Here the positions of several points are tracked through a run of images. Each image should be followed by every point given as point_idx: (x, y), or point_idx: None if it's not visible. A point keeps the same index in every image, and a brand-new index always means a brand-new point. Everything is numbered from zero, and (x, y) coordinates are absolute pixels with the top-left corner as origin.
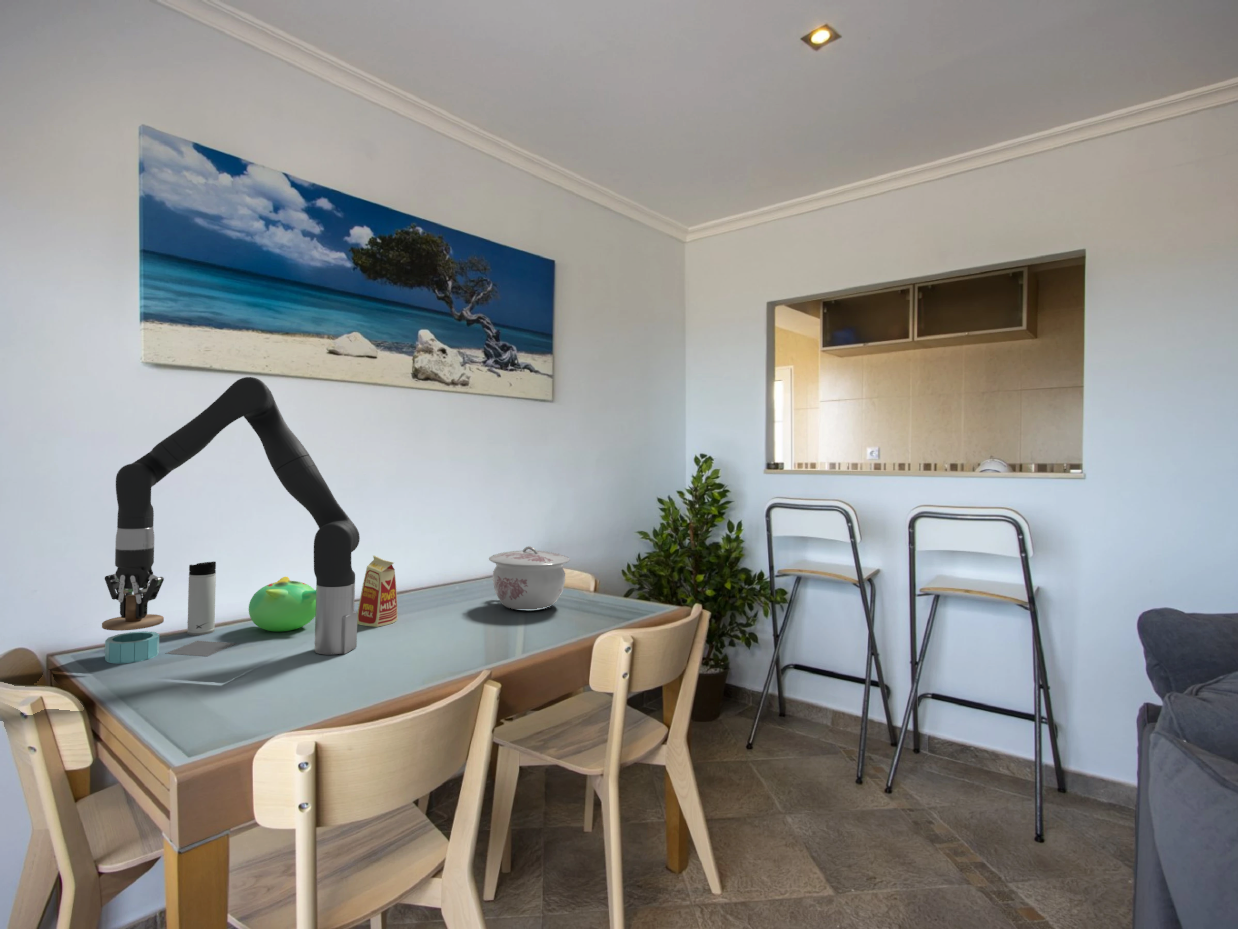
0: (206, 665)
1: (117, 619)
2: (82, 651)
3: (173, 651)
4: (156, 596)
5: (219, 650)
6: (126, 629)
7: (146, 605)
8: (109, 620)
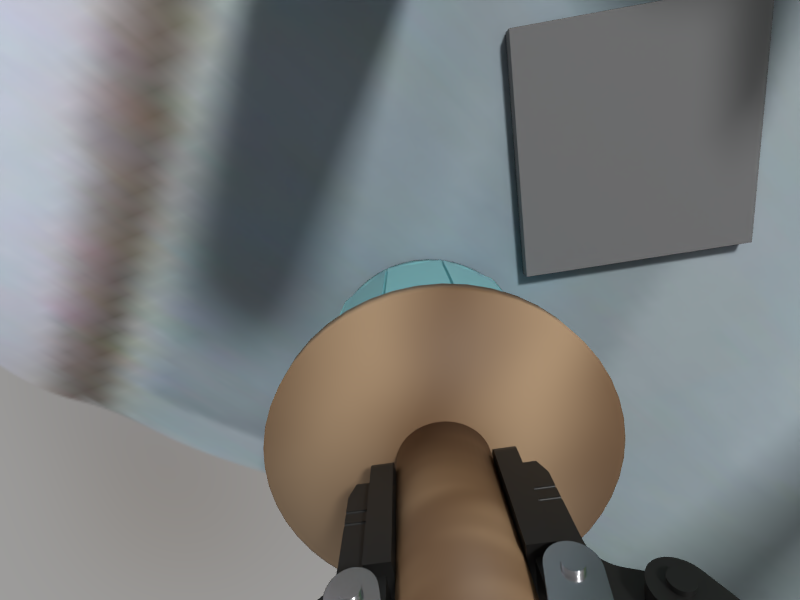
0: (793, 312)
1: (323, 480)
2: (134, 345)
3: (541, 240)
4: (721, 587)
5: (756, 144)
6: None
7: (577, 537)
8: (303, 511)
